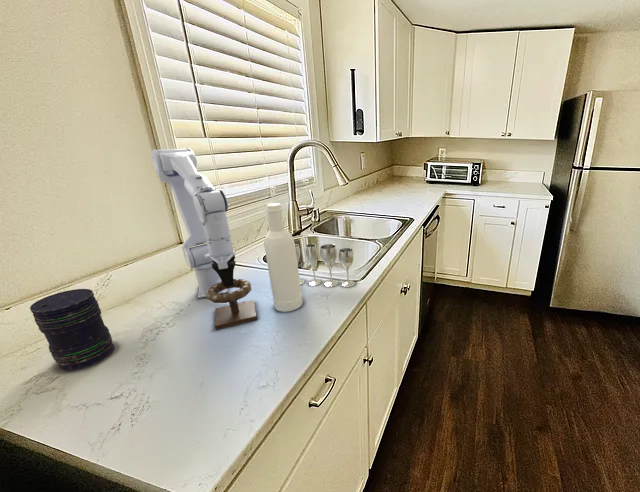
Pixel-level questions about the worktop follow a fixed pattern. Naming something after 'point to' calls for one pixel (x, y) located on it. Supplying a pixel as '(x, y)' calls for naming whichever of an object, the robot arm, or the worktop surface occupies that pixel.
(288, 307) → the bottle
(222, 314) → the brown peg plate
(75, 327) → the storage jar
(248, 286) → the ring
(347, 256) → the goblet set
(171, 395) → the worktop surface
